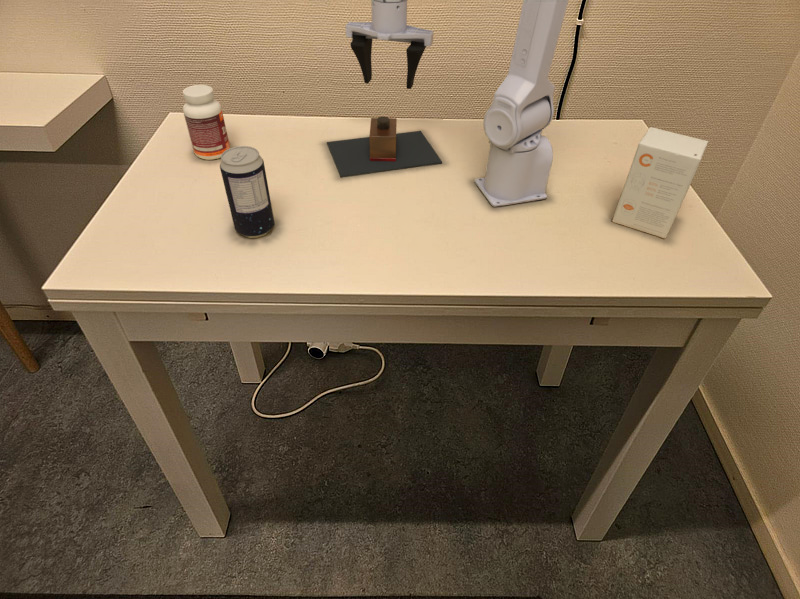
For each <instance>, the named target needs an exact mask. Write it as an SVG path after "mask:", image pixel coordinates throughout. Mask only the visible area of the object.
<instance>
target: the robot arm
mask: <svg viewBox="0 0 800 599" xmlns="http://www.w3.org/2000/svg"><path fill="white" fill-rule="evenodd" d="M370 1H371V21H348V22H347V23H346V24H345V38H347V39H348V38H349V39H351V42H350V49H351V50H352V52H353V54H354V55H355V57H356V60H357V61H358V65H359V67H360V70H361V73H362V77H363V82H364V84H368V85H369V83H370V82H372V79H373V67H372V49H373V40H379V41H387V42H388V41H389V42H397V43H407V44H409V45H408V47H407V48H406V65H407V68H406V69H407V72H406V89H408V90H412V88H413V86H414V82H415V77H416V73H417V69H418V67H419V64H420V62H421V58H422V56H423V54H424V52H425V50H426V49H427V47H428V48H430V47H431V46H432V45H433V43H434V30H431V29H425V28H421V27H417V26H412V25H408V0H370ZM568 3H569V0H522V6H521V11H520V15H519V20H518V25H517V29H516V34H515V39H514V44H513V48H512V54H511V58H510V63H509V66H508V67H509V68H508V73H507V75H506V77H505V78H504V80H503V81H502V82H501V84H500V85H499V86H498V88H497V89H496V90H495V92H494V94H493V99H492V102H491V105H490V106H489V108H488V109H487V110H486V112H485V114H484V115H483V122H482V124H483V131H484V134H485V136H486V138H487V140H488V144H489V148H488V156H487V163H486V170H485V176H484V177H479V178H478V177H477V178H475V179H474V184H475V185H476V186H477V187H478V189H479V190H480V192H481V193H482V194H483V195H484V197H485V198H486V200H487V201H488V202H489V204H490V205H491V206H492V207H494V208H498V207H503V206H504V207H505V206H509V205H515V204H523V203H529V202H534V201H541V200H546V199H548V195H547V194H546V190H547V186H548V181H549V178H550V173H551V169H552V166H553V160H554V152H553V150H554V149H553V146H552V143H551V141H550V139H549V138H548V137H547V136H545V135H542V133H543V130H545V129H546V128H547V127H549V125H550V124H551V123H552V121H553V119H554V114H555V107H554V93H555V90H556V86H555V85H554V84H553V83H552V81H551V80H550V79H549V75H550V72H551V69H552V68H551V67H552V64H553V60H554V57H555V53H556V49H557V45H558V41H559V38H560V35H561V34H560V33H561V30H562V26H563V23H564V19H565V16H566V11H567V8H568Z"/></svg>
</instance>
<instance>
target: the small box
mask: <svg viewBox="0 0 800 599" xmlns="http://www.w3.org/2000/svg"><path fill="white" fill-rule="evenodd" d="M708 143H709V140H705V139H701V138H697V137H693V136H689V135H685V134H681V133H677V132H673V131H668V130H664V129H660V128H656V127H652V126H650V127H649V128H648V129H647V130H646V132H645V134H644V136H642V137H641V140H640V141H639V142H638V144H637V146H636V147H637V148H636V151H635V153H634V157H633V158H632V159H633V160H632V162H631V165H630V168H629V171H628V174H627V176H626V179H625V182H624V185H623V188H622V190H621V194H620V196H619V199H618V202H617V205H616V208H615V211H614V213H613V217H612V221H611V222H612V223H615V224H619V225H621V226H623V227H624V226H625V227H627V228H630V229H634V230H637V231H640V232H643V233H646V234H650V235H653V236H655V237H658V238H662V239H666V238H667V237H668V235H669V232H670V230H671V229H672V226H673V224H674V222H675V220H676V218H677V215H678V213H679V211H680V209H681V208H682V205H683V202H684V200H685V198H686V196H687V193H688V192H689V189H690V187H691V184H692V182H693V180H694V177H695V175H696V173H697V170H698V169H699V166H700V163H701V161H702V158H703V157H704V154H705V151H706V149H707V146H708Z"/></svg>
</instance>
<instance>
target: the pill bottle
mask: <svg viewBox="0 0 800 599" xmlns="http://www.w3.org/2000/svg"><path fill="white" fill-rule="evenodd" d="M182 96H183V99H184V101H185V103H184V105H183V106H182V112H183V113H182V114H183V116H184V120H185V124H186V127H187V132H188V135H189V139H190V142H191V146H192V149H193V153H194V154H195V156H196V157H197V158H199V159H202V160H207V161H208V160H209V161H211V160H212V161H213V160H217V159H221V155H222V153H223V152H224V151H226V150H227V149H230V148H231V145H230V140H229V135H228V132H227V127H226V122H225V117H224V113H223V107H222V105H221V103H220V101H218V100H216V99H214V98H215V93H214V88H212V86H210V85H207V84H194V85H190V86H187V87H185V88H184V89H183V90H182Z"/></svg>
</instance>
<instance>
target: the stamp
mask: <svg viewBox="0 0 800 599" xmlns="http://www.w3.org/2000/svg"><path fill="white" fill-rule="evenodd" d="M396 134H397V118H395V117H393V118H392V117H388V116H382V115H381V116H378V117H371V118H370V126H369V136H368V137H369V143H370V161H396Z"/></svg>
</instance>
